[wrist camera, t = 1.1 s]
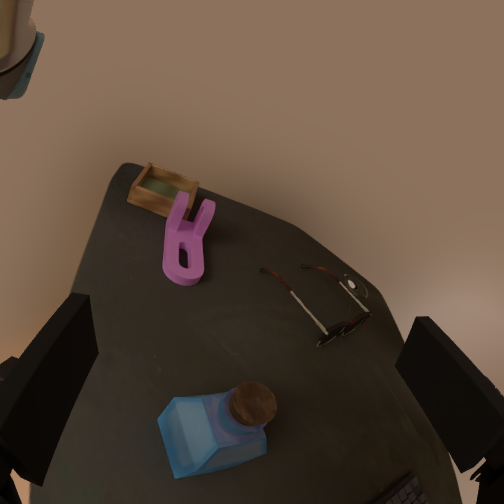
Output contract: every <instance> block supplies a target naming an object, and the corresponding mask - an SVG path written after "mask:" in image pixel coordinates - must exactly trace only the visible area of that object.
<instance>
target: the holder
mask: <svg viewBox="0 0 504 504" xmlns="http://www.w3.org/2000/svg"><path fill="white" fill-rule="evenodd" d="M198 186H199V182H197V181H194V180H192V179H189V178H187V177H185V176H182V175H180V174H177V173H175V172H172V171H170V170H167V169H165V168H162V167H160V166H157V165H155V164H152V163H148V164H147V166H146V167H145V168H144V169H143V171H142V172H141V173H140V175H139V176H138V177H137V179H136V180H135V182H134V183H133V184H132V186H131V189H130V192H129V195H128V199H127V202H129V203H131V204H134V205H136V206H139V207H141V208H144V209H146V210H149V211H151V212H154V213H157V214H159V215H162V216H164V217H167V218H168V216H169V214H170V211H171V209H172V206H173V204H174V201H175V199H176V196H177V194H178V192H179V191H183V192H186V193H189V200H188V204H187V207H186V210H185V213H184V215H183V217H182V219H183V220H187V218H188V216H189V214H190V211H191V209H192V206H193V202H194V199H195V196H196V192H197V189H198Z"/></svg>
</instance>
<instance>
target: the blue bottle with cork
mask: <svg viewBox="0 0 504 504" xmlns="http://www.w3.org/2000/svg"><path fill="white" fill-rule="evenodd" d="M276 412H277V403H276V399H275V397H274V395H273V394H272V392H271V391H270V390H269V389H268V388H267V387H266V386H264V385H263V384H261V383H258V382H255V381H246V382H243V383H241V384H240V385H238V386H237V387H236V388H233V389H231V390H230V391H229V392H221V393H213V394H204V395H195V396H184V397H174V398H173V399H172V400H171V402H170V403H169V404H168V406H167V407H166V408H165V410H164V411H163V412H162V414H161V415H160V416H159V418H158V419H157V420H158V424H159V427H160V431H161V435H162V438H163V442H164V445H165V449H166V452H167V455H168V459H169V462H170V465H171V468H172V471H173V474H174V477H175V479H178V478H184V477H190V476H195V475H200V474H205V473H209V472H214V471H218V470H222V469H226V468H230V467H234V466H237V465H240V464H242V463H245V462H247V461H249V460H252V459H254V458H257V457H259V456H261V455H264V454H266V453H267V446H266V435H265V433H264V430H263V427H264V426H265V425H266V424H267V422H269V421H271V420H272V419H273V418H274V417H275V414H276Z"/></svg>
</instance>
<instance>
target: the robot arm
mask: <svg viewBox="0 0 504 504" xmlns="http://www.w3.org/2000/svg"><path fill="white" fill-rule="evenodd" d="M33 2H34V0H0V99H3V100H7V99H17V98H20V97H22V96H23V94H24V93H25V92H26V89H27V87H28V84H29V81H30V78H31V74H32V72H33V69H34V67H35V64H36V61H37V58H38V56H39V53H40V50H41V47H42V45H43V42H44V34H43V33H40V32H38V31H36V26H35V23H34V21H33V20H32V18H31V17H30V15H31V10H32V6H33ZM98 353H99V352H98V347H97V342H96V336H95V330H94V324H93V318H92V311H91V304H90V296H89V295H85V294H79V293H73V292H72V293H71V294H70V295H69V297H68V298H67V299H66V300H65V301H64V302H63V304H62V305H61V306H60V307H59V308H58V309H57V311H56V312H55V313H54V314H53V315H52V317H51V318H50V319H49V320H48V322H47V323H46V324H45V325H44V326H43V328H42V329H41V330H40V331H39V333H38V334H37V335H36V337H35V338H34V339H33V340H32V342H31V343H30V344H29V346H28V347H27V348H26V350H25V351H24V352H23V354H22V355H21V356H20V358H19V359H18V358H15V357H12V356H11V357H10V358H8V359H7V360H6V361H4V362H3V363H1V364H0V504H22V502H21V500H20V497H19V495H18V492H17V489H16V487H15V484H14V481H13V479H12V478H11V476H10V474H11V471H12V469H14V470H15V471H16V473H17V474H18V475H19V476H20V477H21V478H23V479H25V480H27V481H29V482H32V483H34V484H36V485H39V486H41V487H42V485H43V482H44V479H45V476H46V473H47V471H48V468H49V465H50V462H51V460H52V457H53V454H54V452H55V449H56V447H57V444H58V442H59V439H60V437H61V434H62V432H63V429H64V427H65V425H66V422H67V420H68V418H69V415H70V413H71V411H72V408H73V406H74V404H75V402H76V399H77V397H78V395H79V393H80V391H81V389H82V386H83V384H84V382H85V380H86V378H87V376H88V374H89V372H90V370H91V368H92V366H93V364H94V362H95V359H96V357H97V355H98ZM395 367H396V369H397V370H398V372H399V373H400V375H401V376H402V378H403V379H404V381H405V382H406V384H407V386H408V387H409V389H410V390H411V392H412V393H413V395H414V396H415V398H416V400H417V401H418V403H419V404H420V406H421V407H422V409H423V411H424V412H425V414H426V415H427V417H428V419H429V420H430V422H431V423H432V425H433V427H434V428H435V430H436V432H437V433H438V435H439V437H440V438H441V440H442V442H443V443H444V445H445V447H446V448H447V450H448V452H449V453H450V455H451V457H452V459H453V460H454V462H455V464H456V466H457V467H458V469H459V471H460V473H463V472H465V471H467V470H469V469H471V468H473V467H474V466H475V465H476V464H478V462H479V461H480V460H481V459H482V458H483V457H484V458H485V459H486V461H485V463H484V464H483V465H482V466H481V467H480V468H478V469H477V471H475V472H474V474H472V476H471V478H470V480H473V479H474V478H475V477H476V476H477V475H478V474H479V473H481V474H480V475H479V476H478V477H477V478H476V480H475V481H476V482H480V483H479V490H478V496H477V502H476V504H504V396H503V395H501V394H500V392H499V390H498V389H497V388H495V386H494V384H493V383H492V382H491V381H490V380H489V379H488V378H487V377H485V376H484V375H483V374H482V373H481V372H480V370H479V369H478V368H477V367H476V366H475V365H474V364H473V363H472V361H471V360H469V358H468V357H467V356H466V355H465V354H464V353H463V352H462V351H461V350H460V348H459V347H458V346H457V345H456V344H455V343H454V342H453V341H452V340H451V339H450V338H449V337H448V336H447V335H446V334H445V333H444V332H443V331H442V330H441V329H440V327H438V326H437V324H435V322H434V321H433V320H432V319H430V317H429V316H424V317H423V316H422V317H416V318H415V320H414V323H413V325H412V328H411V330H410V333H409V335H408V338H407V340H406V342H405V344H404V347H403V349H402V351H401V353H400V356H399V358H398V360H397V362H396V364H395Z"/></svg>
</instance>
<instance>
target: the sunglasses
mask: <svg viewBox="0 0 504 504" xmlns="http://www.w3.org/2000/svg"><path fill="white" fill-rule="evenodd" d="M301 267H302V268H309V267H311V268H317V269H322V270H325V271H327V272H328V273H329V274H330V275H331V276H332V277H333V278H334V279H335V280H336V281H337V282H338V283H339V284H340V285H341V286H342V287H343V288H344V289H345V290H346V291H347V292H348V293H349V294H350V295H351V296H352V297H353V298H354V299H355V300H356V301H357V302H358V303H359V305H360V306H361V307H362V308H363V309H364V311H365V313H363V314H361V315H359V316H357V317H356V318H354V319H353V320H351V321H350V322H348V323H347V322H341V323H338V324H336V325H334V326H332V327H330V328H328V329H325V328H324V327H323V326H322V324H321V323H320V322H319V321H317V320H316V318H315V317H314V316H313V315H312V314H311V313H310V312H309V310H308V309H307V308H306V307H305V306H304V305H303V303H302V302H301V301H300V300H299V299H298V297H297V296H296V295H295V294H294V293H293V292H292V290H291V288H290V287H289V286H288V285H287V284H286V283H285V281H284V280H283V279H282V278H281V277H280V276H279V275H278V274H277V273H275V272H273V271H271V270H268V269H265V268H261V272H269V273H271V274H273V275H275V276H277V278H278V279H279V280H280V281H281V282H282V283H283V285H284V286H285V287H286V288H287V289H288V291H289V292H290V293H291V294H292V295H293V296H294V297H295V299H296V300H297V301H298V302H299V303H300V305H301V306H302V307H303V308H304V309H305V310H306V312H307V313H308V314H309V315H310V316H311V317H312V318H313V320H314V321H315V322H316V324H317V325H318V326H319V327H320V328H321V330H322V331H323V333H324V334H323V335H322V336H321V337H320V338H319V340H320V342H319V343H318V344H317V346H318V347H319V346H322V345H324V344H326V343H328V342H329V341H331V340H332V339H333V338H334V337H336V336H337V337H338V336H339V335H340V334H341V333H342V332H343V334H342V335H343V336H344V335H346V334H348V333H350V332H351V331H353V330H354V329H355V328H356V327H357V326H358V325H359V324H360V323H361V324H362V323H363V322H364V321H365V320H366V319H367V318H368V317H369V316H371V315H372V313H371V312H370V311H368V310H367V309H366V308H365V307H364V306H363V305H362V304H361V303H360V302H359V301H358V300H357V299H356V298H355V297H354V296H353V295H352V293H351V292H350V291H349V290H348V289H347V288H346V287H345V286H344V285H343V284H342V283H341V282H340V281H339V280H338V279H337V278H336V276H335V275H334V274H333V273H331V272H330V271H329V270H327V269H326V268H322V267H317V266H311V265H301Z"/></svg>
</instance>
